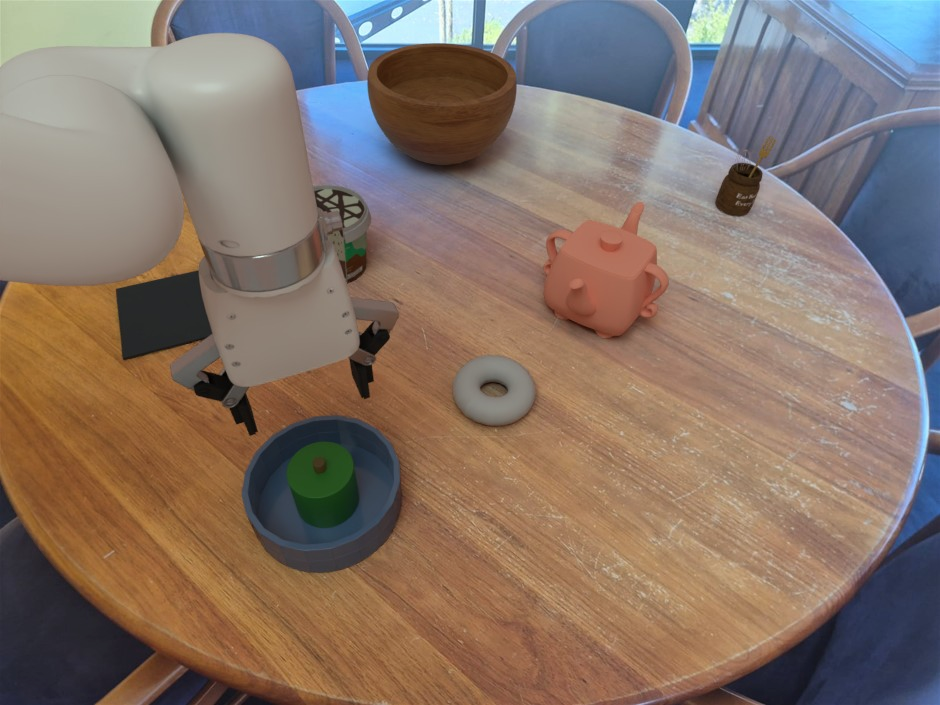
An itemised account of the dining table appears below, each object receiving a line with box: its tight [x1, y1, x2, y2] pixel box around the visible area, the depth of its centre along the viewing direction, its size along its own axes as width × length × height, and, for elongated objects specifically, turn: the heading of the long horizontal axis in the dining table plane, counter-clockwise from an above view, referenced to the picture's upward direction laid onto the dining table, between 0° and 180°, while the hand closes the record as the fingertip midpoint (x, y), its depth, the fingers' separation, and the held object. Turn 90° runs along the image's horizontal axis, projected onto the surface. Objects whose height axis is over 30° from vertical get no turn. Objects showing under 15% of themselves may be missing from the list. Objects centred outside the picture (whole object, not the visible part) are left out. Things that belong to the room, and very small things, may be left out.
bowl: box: [366, 42, 518, 166], centre depth 108 cm, size 25×25×15 cm
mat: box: [115, 269, 213, 361], centre depth 83 cm, size 12×14×1 cm
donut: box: [452, 354, 537, 427], centre depth 74 cm, size 10×4×10 cm
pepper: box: [287, 442, 359, 528], centre depth 62 cm, size 6×6×7 cm
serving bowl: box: [241, 414, 403, 574], centre depth 63 cm, size 15×15×5 cm
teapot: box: [542, 201, 670, 339], centre depth 82 cm, size 15×17×13 cm
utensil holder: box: [715, 135, 777, 217], centre depth 101 cm, size 6×6×12 cm
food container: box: [313, 184, 372, 284], centre depth 89 cm, size 12×6×10 cm, turn 34°
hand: (307, 404), depth 53 cm, fingers open, 9 cm apart
